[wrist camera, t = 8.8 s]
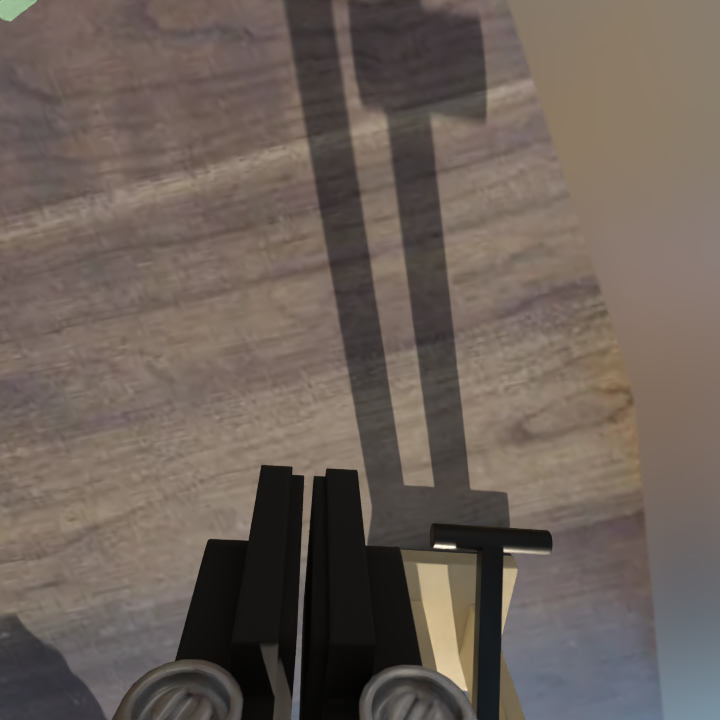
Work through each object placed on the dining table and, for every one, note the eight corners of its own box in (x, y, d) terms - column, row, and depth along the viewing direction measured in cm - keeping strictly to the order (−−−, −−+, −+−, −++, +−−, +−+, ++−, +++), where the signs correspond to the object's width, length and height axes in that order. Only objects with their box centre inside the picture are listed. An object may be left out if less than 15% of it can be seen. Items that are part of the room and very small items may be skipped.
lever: (427, 521, 33) (437, 525, 30) (539, 528, 33) (558, 532, 31) (412, 821, 30) (423, 851, 28) (534, 823, 31) (554, 853, 28)
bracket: (386, 548, 39) (419, 762, 26) (513, 555, 39) (607, 767, 26) (367, 672, 42) (388, 916, 29) (483, 676, 43) (554, 916, 30)
